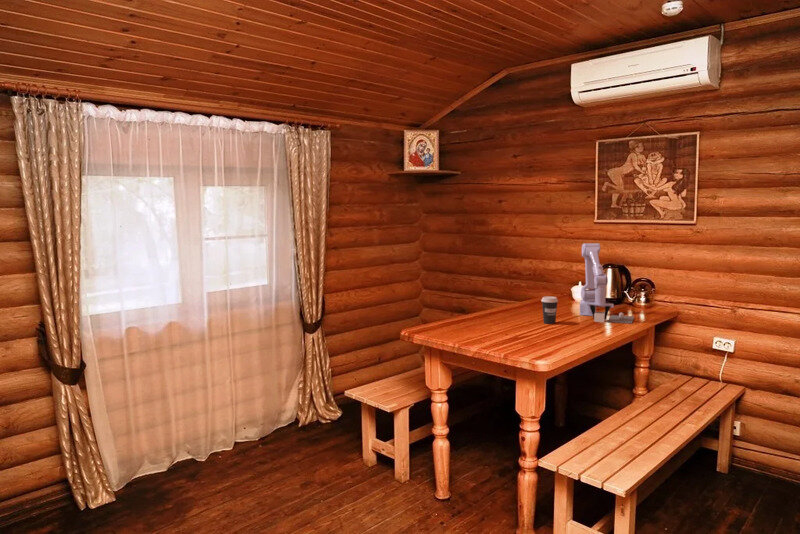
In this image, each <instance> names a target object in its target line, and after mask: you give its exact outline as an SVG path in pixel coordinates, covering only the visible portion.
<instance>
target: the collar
mask: <svg viewBox="0 0 800 534" xmlns="http://www.w3.org/2000/svg"><path fill="white" fill-rule="evenodd" d="M593 322H595V323H605V322H606V320H605V311H596V312H595V313H594V319H593Z"/></svg>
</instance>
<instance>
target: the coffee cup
mask: <svg viewBox="0 0 800 534" xmlns="http://www.w3.org/2000/svg"><path fill="white" fill-rule="evenodd" d="M540 301H541V306H542V317H543V323H544V325H545V324H546V325H554V324H556V319H557V310H558V302H559V299H558V298H557V297H556V296H548V295H547V296H543V297H542V298H541V300H540Z"/></svg>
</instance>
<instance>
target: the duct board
mask: <svg viewBox="0 0 800 534" xmlns="http://www.w3.org/2000/svg"><path fill="white" fill-rule="evenodd" d="M634 319H635V316H634V315H633V316H631V315H630V316H629V315H625V313H623V312H619V313H618V315H617V314H616V315H615V314H611V315H610V317H609V318H608V320H607V323H613V324H614V323H616V324H629V325H631V324H632V325H633V322H634Z"/></svg>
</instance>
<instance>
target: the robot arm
mask: <svg viewBox="0 0 800 534" xmlns="http://www.w3.org/2000/svg"><path fill="white" fill-rule="evenodd" d="M600 252H601V244H600V243H599V242H597V243H596V242H595V243H593V242H592V243H582V245H581V257H583V258H584V263H585V264H584V269H585V274H584V275H585V284H583V286H582V287H581V289H580V291H581V292H580V297H581V300H579V315H580V316H588V317H589V316H590V317H593V320H594V313H595V312H597V307H600V308H601V307H603V308H604V312H605V321H607V316H608V313H609V311H610V309H611V308H613V309H614V307H615V306H614V303H609V302H606V298H607V297H606V293H607V292H606V290H607V288H606V286H607V284H608V283H609V282H608V276H607V274H606V273H605V271H604V267H603V265H602V264H601V263H600V257H599V255H600Z"/></svg>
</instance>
